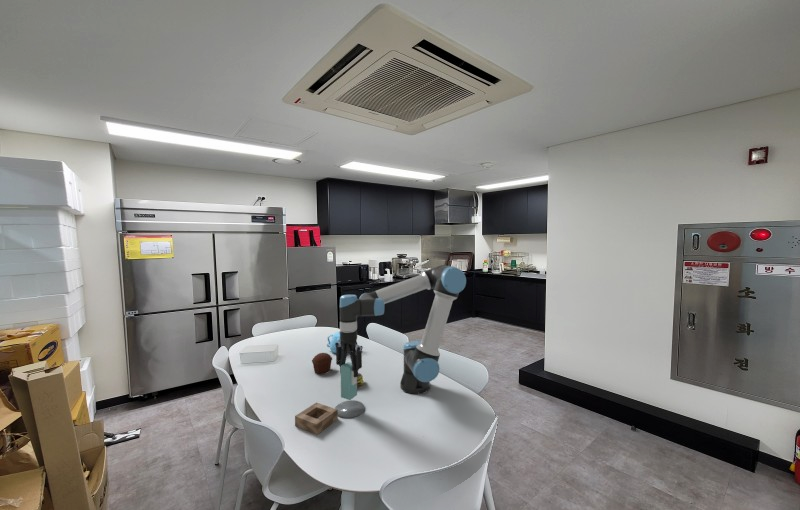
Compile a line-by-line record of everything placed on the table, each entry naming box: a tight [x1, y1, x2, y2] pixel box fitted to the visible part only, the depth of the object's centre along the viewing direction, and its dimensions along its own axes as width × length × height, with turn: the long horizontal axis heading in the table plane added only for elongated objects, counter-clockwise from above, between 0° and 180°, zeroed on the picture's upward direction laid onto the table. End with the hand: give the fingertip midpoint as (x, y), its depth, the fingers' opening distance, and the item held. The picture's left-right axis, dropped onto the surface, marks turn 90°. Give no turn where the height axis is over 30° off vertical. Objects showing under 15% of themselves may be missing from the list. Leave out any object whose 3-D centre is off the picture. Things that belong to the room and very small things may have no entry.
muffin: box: [311, 352, 333, 375], centre depth 176 cm, size 12×11×10 cm
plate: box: [334, 399, 365, 419], centre depth 135 cm, size 13×13×1 cm
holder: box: [294, 401, 339, 435], centre depth 126 cm, size 12×12×4 cm
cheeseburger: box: [357, 369, 364, 387], centre depth 160 cm, size 10×11×10 cm
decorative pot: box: [326, 330, 341, 354], centre depth 209 cm, size 16×16×14 cm
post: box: [340, 361, 358, 401], centre depth 135 cm, size 5×5×14 cm
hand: (349, 382), depth 135 cm, fingers closed on post, 5 cm apart
